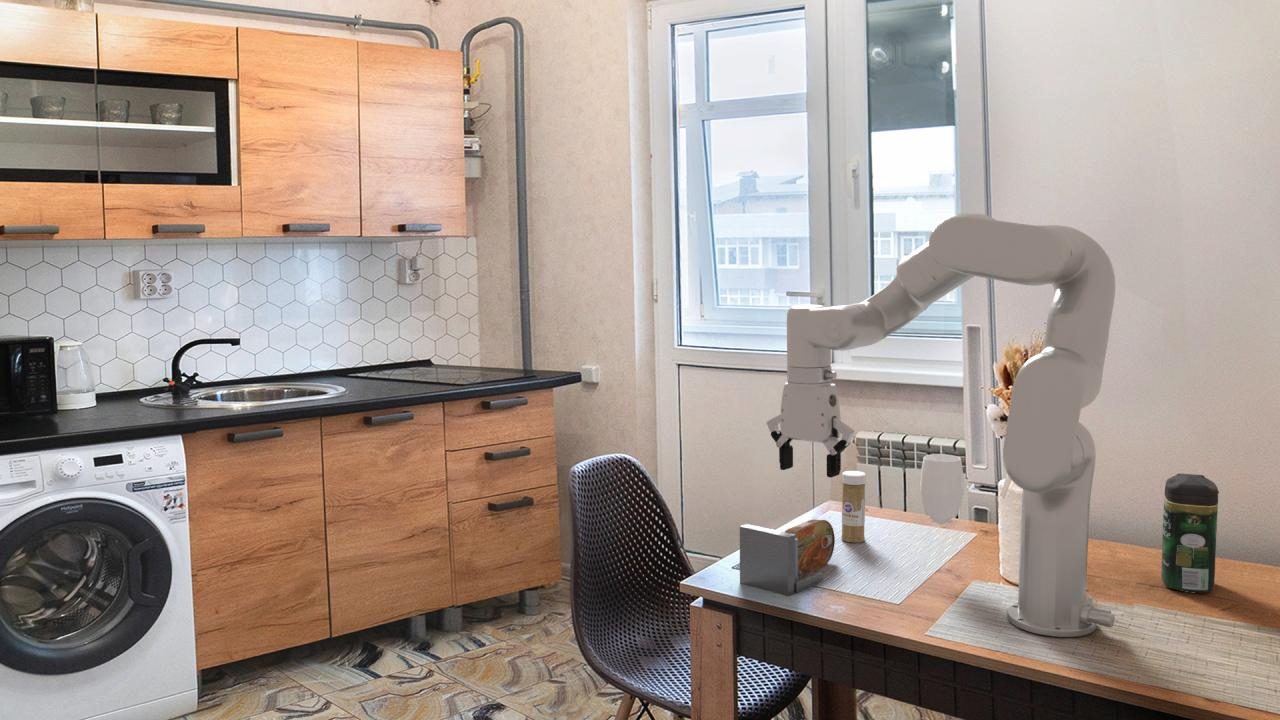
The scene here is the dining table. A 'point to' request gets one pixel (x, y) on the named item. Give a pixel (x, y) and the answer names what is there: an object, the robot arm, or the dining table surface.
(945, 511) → the cup
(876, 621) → the dining table surface
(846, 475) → the sprinkles bottle
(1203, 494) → the coffee jar
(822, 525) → the tin
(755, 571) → the frame
